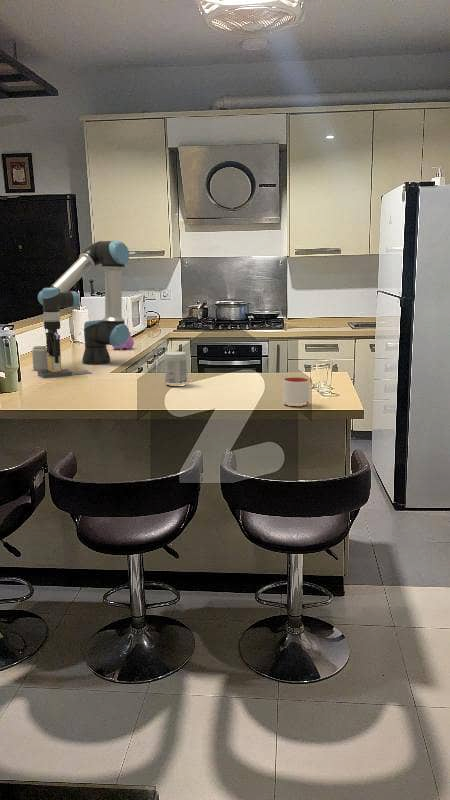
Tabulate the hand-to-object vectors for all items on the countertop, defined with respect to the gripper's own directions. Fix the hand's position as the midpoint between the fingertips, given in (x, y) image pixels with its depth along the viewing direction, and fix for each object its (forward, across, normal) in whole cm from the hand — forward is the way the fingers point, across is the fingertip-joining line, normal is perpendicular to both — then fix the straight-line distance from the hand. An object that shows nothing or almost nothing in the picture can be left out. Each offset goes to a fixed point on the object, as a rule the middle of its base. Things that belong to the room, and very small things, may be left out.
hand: (54, 368), depth 299 cm
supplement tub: (+3, +53, +38) cm, 65 cm away
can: (+4, -20, 0) cm, 20 cm away
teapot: (+3, -68, +68) cm, 96 cm away
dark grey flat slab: (+3, 0, 0) cm, 3 cm away
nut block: (+3, 0, 0) cm, 3 cm away
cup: (+3, +112, +58) cm, 126 cm away
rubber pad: (+3, 0, +14) cm, 14 cm away
